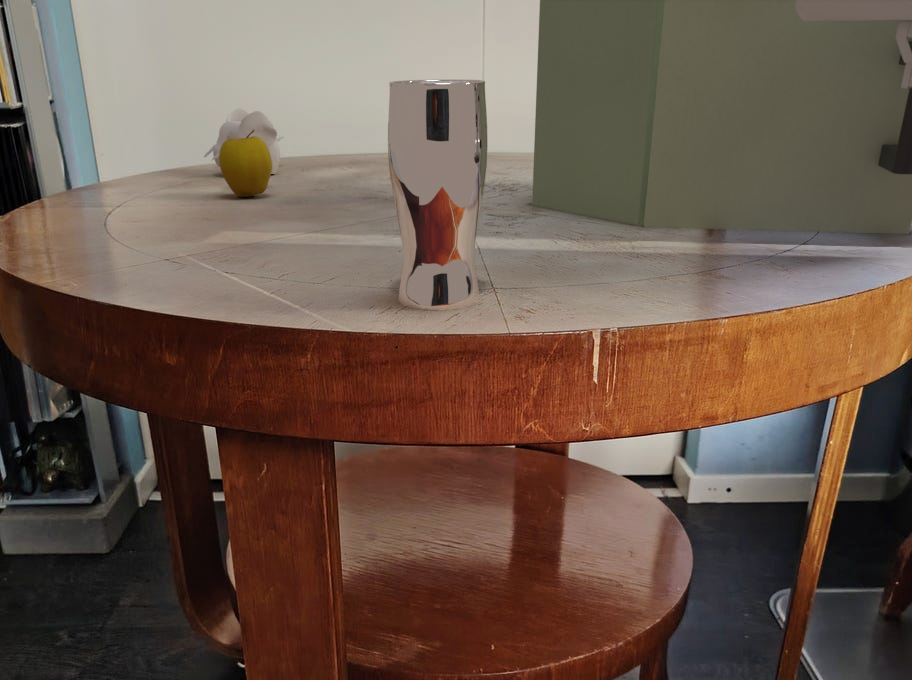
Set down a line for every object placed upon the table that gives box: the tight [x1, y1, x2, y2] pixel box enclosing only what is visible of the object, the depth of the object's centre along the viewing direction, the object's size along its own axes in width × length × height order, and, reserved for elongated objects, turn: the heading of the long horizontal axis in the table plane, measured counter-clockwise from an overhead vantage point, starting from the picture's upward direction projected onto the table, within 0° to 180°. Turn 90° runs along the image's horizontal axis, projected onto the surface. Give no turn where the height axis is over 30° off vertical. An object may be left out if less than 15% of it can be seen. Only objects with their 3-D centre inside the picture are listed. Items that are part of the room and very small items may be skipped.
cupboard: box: [531, 0, 665, 226], centre depth 95 cm, size 16×24×24 cm, turn 125°
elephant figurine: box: [203, 108, 285, 175], centre depth 133 cm, size 10×12×9 cm
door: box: [643, 0, 912, 235], centre depth 78 cm, size 7×24×24 cm, turn 79°
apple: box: [219, 130, 272, 198], centre depth 113 cm, size 6×6×8 cm
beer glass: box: [387, 79, 489, 312], centre depth 64 cm, size 7×7×15 cm
